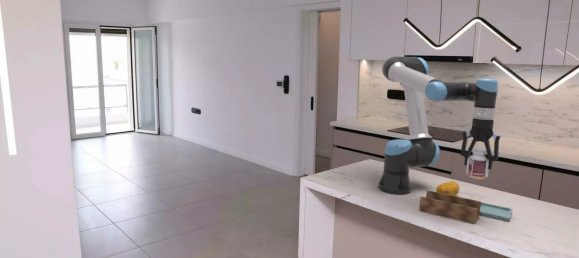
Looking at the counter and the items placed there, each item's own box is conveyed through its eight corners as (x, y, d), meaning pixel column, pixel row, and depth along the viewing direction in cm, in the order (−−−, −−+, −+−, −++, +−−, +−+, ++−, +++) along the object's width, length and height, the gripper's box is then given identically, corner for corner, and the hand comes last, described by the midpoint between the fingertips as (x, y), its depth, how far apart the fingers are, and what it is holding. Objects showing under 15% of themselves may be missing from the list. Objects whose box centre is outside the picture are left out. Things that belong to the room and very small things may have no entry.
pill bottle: (488, 178, 160) (491, 151, 158) (478, 180, 157) (481, 153, 155) (474, 174, 166) (477, 148, 164) (464, 176, 162) (467, 149, 161)
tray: (474, 214, 164) (474, 210, 164) (479, 205, 175) (479, 201, 174) (509, 221, 157) (509, 218, 157) (512, 212, 168) (512, 208, 168)
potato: (430, 198, 181) (432, 183, 180) (448, 192, 190) (449, 178, 188) (445, 203, 175) (446, 187, 174) (462, 197, 184) (464, 182, 183)
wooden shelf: (419, 210, 166) (420, 196, 165) (425, 203, 174) (427, 190, 173) (475, 224, 154) (477, 209, 153) (479, 215, 163) (481, 201, 162)
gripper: (455, 116, 160) (449, 172, 164) (509, 122, 149) (501, 182, 153) (459, 114, 166) (454, 169, 170) (512, 120, 155) (505, 177, 159)
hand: (476, 175), depth 161 cm, fingers closed on pill bottle, 6 cm apart
